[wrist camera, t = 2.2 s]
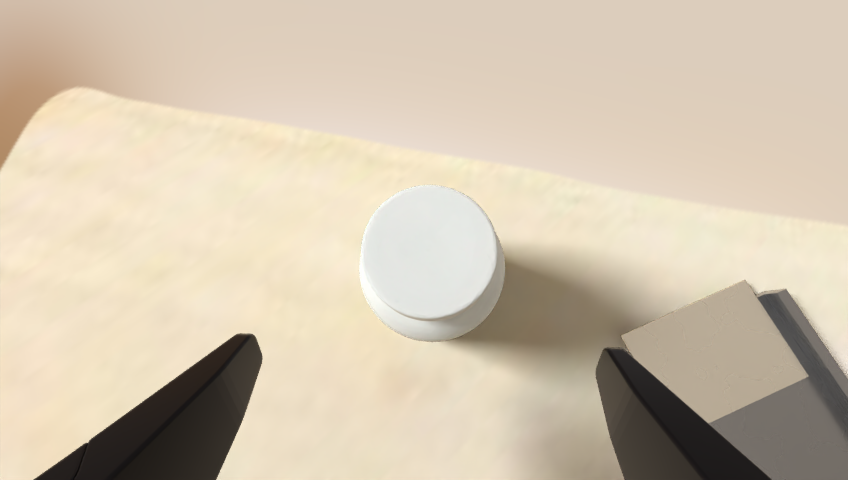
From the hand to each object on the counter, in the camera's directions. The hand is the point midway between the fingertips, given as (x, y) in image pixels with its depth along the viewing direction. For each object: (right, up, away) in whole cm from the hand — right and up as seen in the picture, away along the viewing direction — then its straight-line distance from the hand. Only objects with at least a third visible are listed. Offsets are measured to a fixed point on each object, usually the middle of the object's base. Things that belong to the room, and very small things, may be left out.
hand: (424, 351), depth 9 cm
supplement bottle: (+1, 0, +11) cm, 11 cm away
